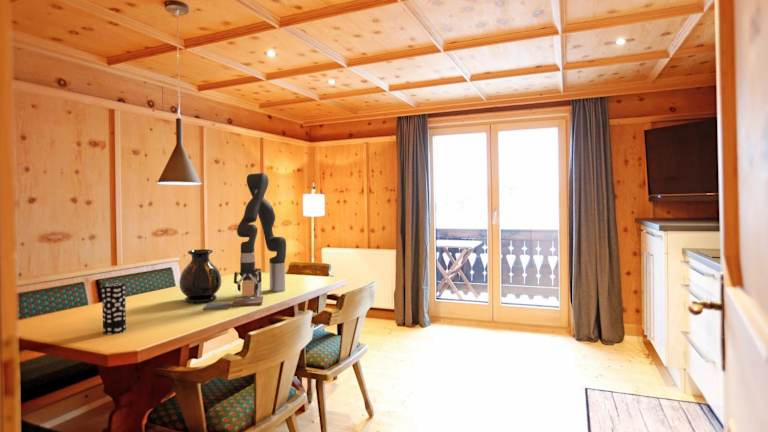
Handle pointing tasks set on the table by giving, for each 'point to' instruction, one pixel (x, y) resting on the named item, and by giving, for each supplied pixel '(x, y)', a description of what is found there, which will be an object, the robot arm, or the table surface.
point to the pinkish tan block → (247, 288)
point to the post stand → (247, 301)
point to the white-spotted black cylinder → (113, 308)
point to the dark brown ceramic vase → (200, 278)
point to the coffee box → (258, 292)
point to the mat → (216, 306)
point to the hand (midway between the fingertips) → (247, 290)
